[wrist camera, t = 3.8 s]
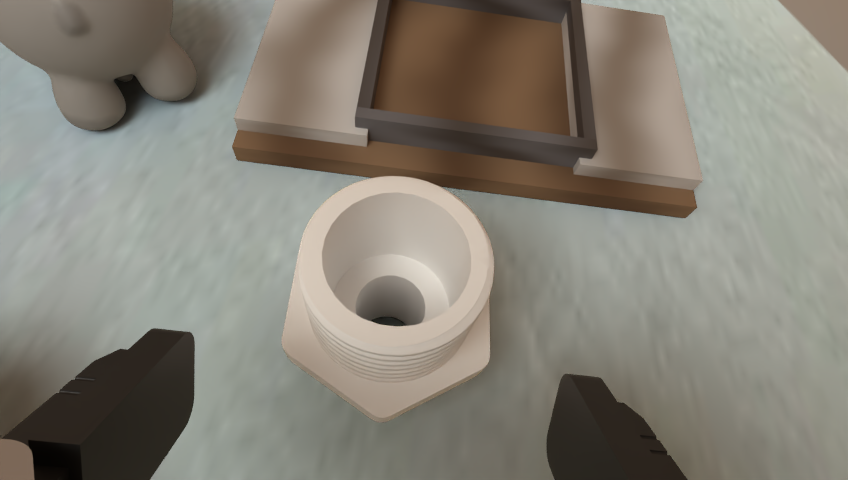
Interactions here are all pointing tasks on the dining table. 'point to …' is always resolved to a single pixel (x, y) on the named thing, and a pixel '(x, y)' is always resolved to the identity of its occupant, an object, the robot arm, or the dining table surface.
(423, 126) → the base
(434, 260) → the pipe fitting
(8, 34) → the chubby cartoon animal
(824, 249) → the dining table surface
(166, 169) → the dining table surface
